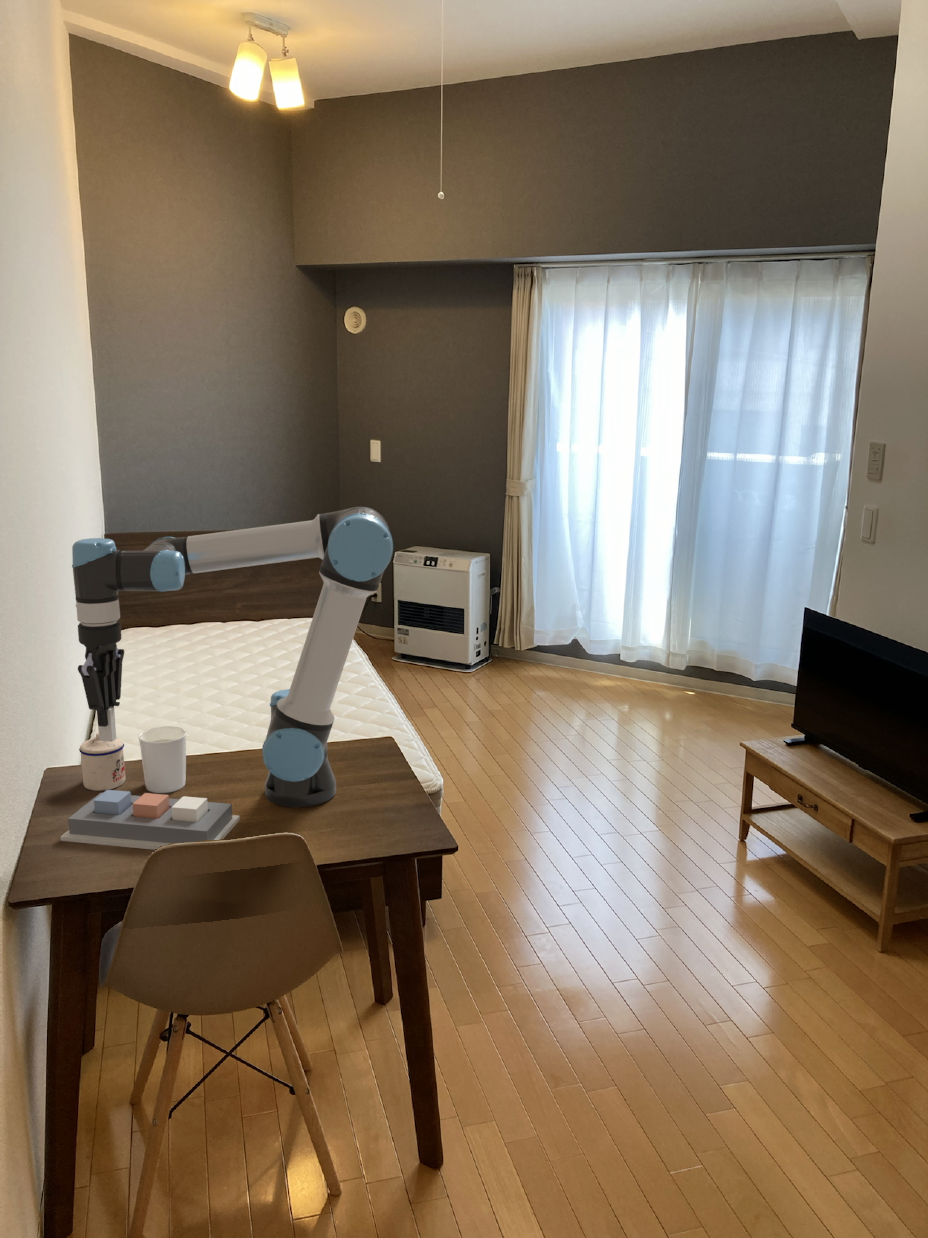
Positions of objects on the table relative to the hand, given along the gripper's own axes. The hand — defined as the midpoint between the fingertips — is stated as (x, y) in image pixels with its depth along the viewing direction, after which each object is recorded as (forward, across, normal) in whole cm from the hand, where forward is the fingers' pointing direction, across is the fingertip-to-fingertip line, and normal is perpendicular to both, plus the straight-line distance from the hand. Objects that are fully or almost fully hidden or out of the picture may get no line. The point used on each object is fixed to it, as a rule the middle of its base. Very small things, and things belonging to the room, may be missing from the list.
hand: (107, 739), depth 179 cm
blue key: (+15, 0, 0) cm, 15 cm away
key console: (+18, 0, +8) cm, 20 cm away
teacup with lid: (+19, -20, -13) cm, 30 cm away
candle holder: (+19, -20, +1) cm, 27 cm away
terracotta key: (+15, 0, +8) cm, 17 cm away
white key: (+15, 0, +16) cm, 22 cm away
